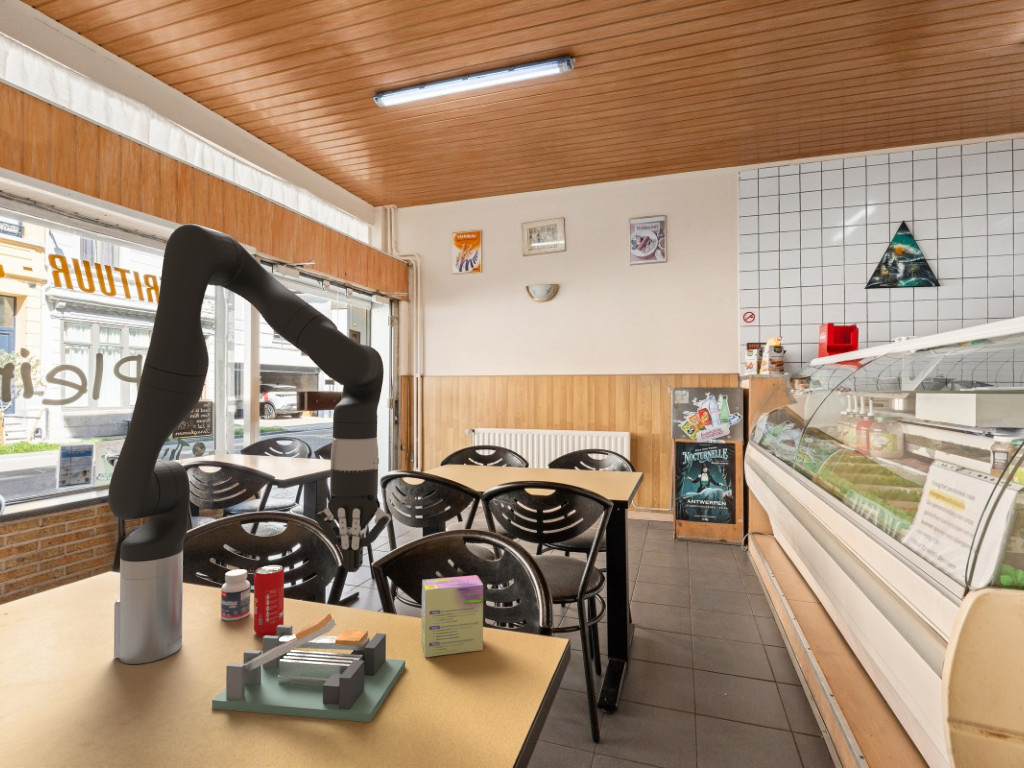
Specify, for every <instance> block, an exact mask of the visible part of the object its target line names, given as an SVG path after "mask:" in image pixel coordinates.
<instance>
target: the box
mask: <svg viewBox="0 0 1024 768" xmlns="http://www.w3.org/2000/svg"><path fill="white" fill-rule="evenodd" d="M421 581H422V582H421V587H422V588H421V633H420V634H421V639H420V640H421V645H422V646H421V647H422V650H423V653H424V657H425V658H431V657H438V656H439V657H440V656H444V655H445V656H446V655H451V654H462V653H468V652H469V653H471V652H477V651H478V652H481V651H483V650H484V649H483V648H484V647H483V646H484V644H483V643H484V641H483V640H484V639H483V638H484V583H483V582H482V581H481V579H480V577H479V576H478V575H476V574H474V575H464V576H452V577H439V578H430V579H428V578H426V579H422V580H421Z"/></svg>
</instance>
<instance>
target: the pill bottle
mask: <svg viewBox="0 0 1024 768" xmlns="http://www.w3.org/2000/svg"><path fill="white" fill-rule="evenodd" d="M224 575H225V576H224V579H225V580H224V583H223V584H222V586H221V590H220V594H221V597H220V618H221V619H222V620H223V621H228V622H229V621H238V620H241V619H244V618H246V617H248V616H249V615H250V612H251V607H250V606H251V583H250V581H249V580H247V578H248V570H247V569H243V568H242V569H241V568H238V569H237V568H236V569H232V570H229V571H227V572H226V573H225V574H224Z"/></svg>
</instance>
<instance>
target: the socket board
mask: <svg viewBox="0 0 1024 768" xmlns="http://www.w3.org/2000/svg"><path fill="white" fill-rule="evenodd" d="M281 633H284V634H289V635H293V625H286V624H284V625H278V626H277V635H275V636H268V635H265V636H264V637H262V650H253V649H252V650H251V649H246V650H245V651H243V663H235V662H234V663H233V662H230V663H228V664H226V668H225V669H226V672H225V674H226V680H225V681H226V682H225V683H226V685H225V686H226V688H225V689H224V690H222V691H221V692H220V693H219V694H218V695H216V696H215V697H214V698H213V699H212V700H211V709H214V710H215V709H216V710H223V711H225V710H227V711H238V712H246V713H247V712H249V713H260V714H271V715H272V714H273V715H284V716H295V717H305V718H317V719H327V720H340V721H350V722H352V721H353V722H363V723H371V722H372V720H373V718H374V717H375V716H376V714H377V713H378V710H379V709H380V707H381V706H382V704H383V703H384V701H385V700H386V699H387V696H389V693H390V692H391V691H392V688H393V687H394V686H395V684H396V682H397V681H398V680H399V678H400V676H401V675H402V674H403V672H404V671H405V668H406V659H394V658H387V655H386V654H387V650H386V649H387V634H386V633H382V632H380V633H378V632H377V633H376V634H374V636H373V637H372V638H371V639H370V642H369V643H368V644H367V645H366V647H365V650H352V651H351V652H350V654H355V655H363V661H361V660H354V661H353V662H352V663H351V664H350V665H349V667H348V668H347V669H346V670H345V671H344V673H343V674H332V676H331V677H330V678H329V679H328V680H327V681H326V682H325V683H324V685H323V687H319V686H306V685H294V684H281V683H278V677H279V661H280V660H281V659H283V657H284V656H286V654H288V653H290V651H289V652H287V653H285V654H283V655H281V656H279V657H277V658H275V659H273V660H271V661H269V662H267V663H265V664H263V665H261V666H259V667H257V668H255V669H253V670H251V671H249V672H247V673H245V664H244V663H245V662H246V661H247V660H251V659H253V658H255V657H257V656H259V655H261V654H263V653H265V652H267V651H269V650H271V649H273V648H275V647H277V646H279V636H278V635H279V634H281Z"/></svg>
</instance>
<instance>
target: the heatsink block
mask: <svg viewBox="0 0 1024 768" xmlns="http://www.w3.org/2000/svg"><path fill="white" fill-rule="evenodd" d="M354 660H361V661H363V655H355V654H351V653H340V652H339V653H336V652H326V651H325V652H324V651H313V650H308V651H307V650H299V649H298V650H297V649H293V650H291V651H290V653H288V654H286V656H284V657H283V659H281V660H280V661H279V677H278V683H281V684H294V685H306V686H319V687H323V685H324V683H325V682H326V681H327V680H328V679H329V678H330V677H331V676H332V674H343V673H344V671H345V670H346V669H347V668H348V667H349V665H350V664H351V663H352V662H353V661H354Z"/></svg>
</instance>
